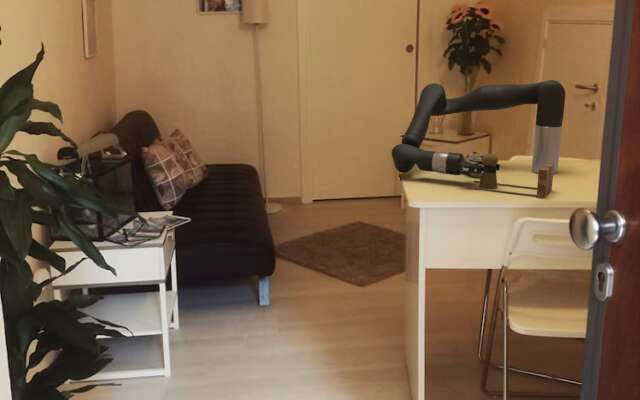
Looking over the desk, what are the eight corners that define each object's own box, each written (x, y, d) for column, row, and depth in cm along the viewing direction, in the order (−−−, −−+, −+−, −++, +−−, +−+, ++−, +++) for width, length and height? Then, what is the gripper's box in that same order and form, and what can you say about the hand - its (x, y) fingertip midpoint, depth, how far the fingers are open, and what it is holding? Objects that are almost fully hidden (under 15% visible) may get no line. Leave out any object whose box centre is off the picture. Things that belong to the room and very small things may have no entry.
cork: (497, 189, 236) (500, 156, 233) (478, 188, 237) (481, 155, 234) (496, 185, 242) (499, 153, 239) (478, 184, 243) (480, 152, 240)
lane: (475, 181, 247) (476, 155, 245) (551, 190, 236) (554, 163, 233) (465, 188, 237) (466, 162, 235) (544, 198, 225) (547, 170, 223)
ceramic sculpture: (467, 154, 248) (452, 149, 263) (466, 179, 250) (451, 172, 264) (496, 154, 250) (479, 148, 265) (495, 178, 252) (478, 171, 266)
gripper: (453, 169, 251) (502, 175, 243) (440, 177, 239) (491, 184, 231) (454, 149, 249) (504, 153, 241) (441, 156, 237) (493, 161, 229)
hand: (497, 168), depth 236 cm, fingers closed on cork, 3 cm apart
